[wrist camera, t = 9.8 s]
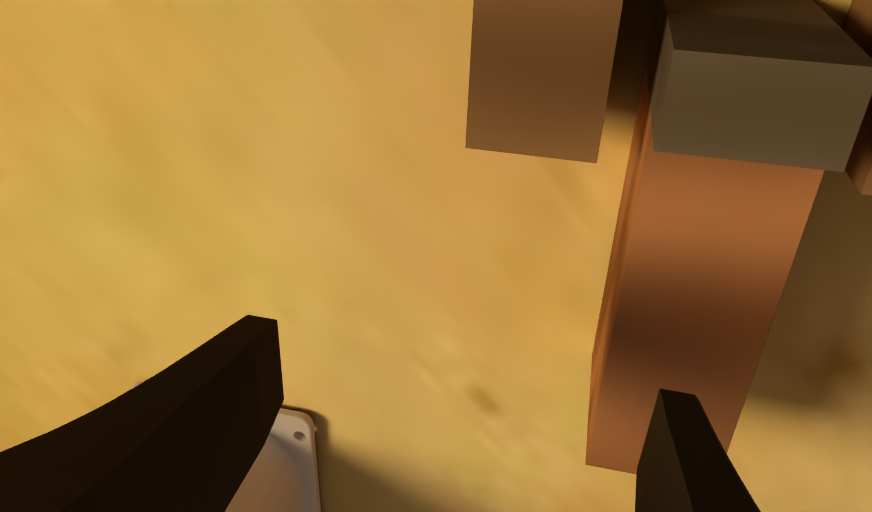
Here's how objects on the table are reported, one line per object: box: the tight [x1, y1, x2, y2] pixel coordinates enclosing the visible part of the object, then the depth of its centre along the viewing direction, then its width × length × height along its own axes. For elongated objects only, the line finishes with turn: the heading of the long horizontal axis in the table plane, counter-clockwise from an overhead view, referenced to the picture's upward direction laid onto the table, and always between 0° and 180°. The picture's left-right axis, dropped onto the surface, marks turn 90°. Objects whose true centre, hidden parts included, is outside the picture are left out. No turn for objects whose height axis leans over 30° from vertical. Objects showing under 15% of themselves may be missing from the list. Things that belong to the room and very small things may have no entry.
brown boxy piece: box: [585, 0, 872, 474], centre depth 18 cm, size 12×4×6 cm, turn 178°
